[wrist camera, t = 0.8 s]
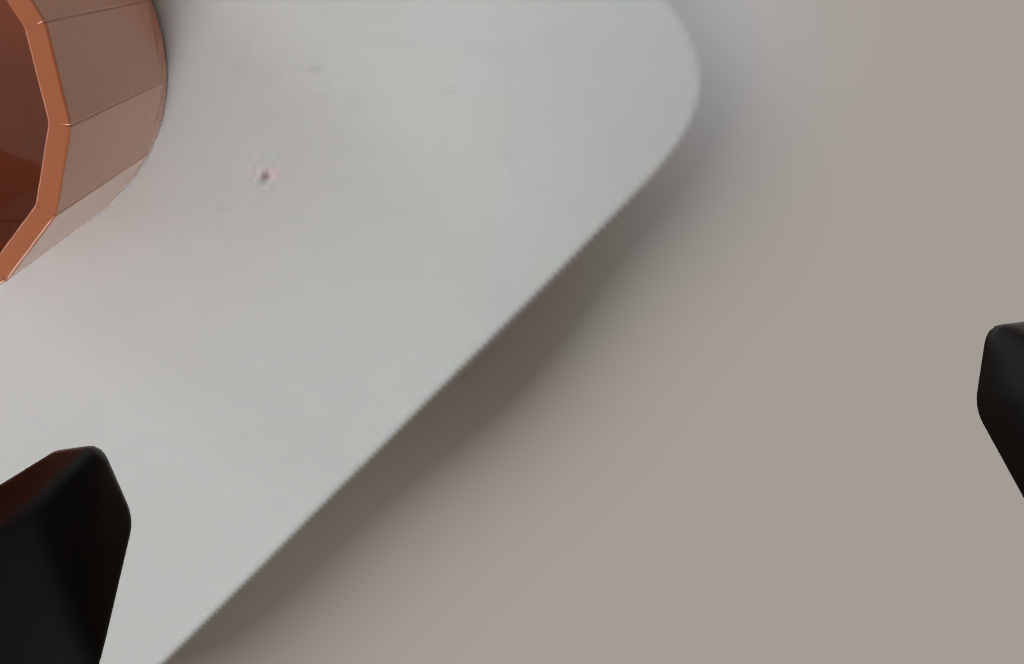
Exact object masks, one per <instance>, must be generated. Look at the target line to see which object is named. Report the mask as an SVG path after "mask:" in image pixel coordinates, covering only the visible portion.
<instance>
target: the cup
mask: <svg viewBox="0 0 1024 664" xmlns="http://www.w3.org/2000/svg"><path fill="white" fill-rule="evenodd" d="M165 97H166V59H165V51H164V43H163V38H162V34H161V30H160V26H159V22H158V18H157V14H156V11H155V9H154V6H153V3H152V1H151V0H0V284H2V283H4V282H6V281H8V280H9V279H10V278H12V277H13V276H14V275H16V274H17V273H18V272H20V271H21V270H22V269H24V268H25V267H26V266H28V265H29V264H31V263H32V262H33V261H35V260H36V259H37V258H39V257H40V256H41V255H43V254H44V253H45V252H47V251H48V250H49V249H51V248H52V247H54V246H55V245H56V244H58V243H59V242H60V241H62V240H63V239H64V238H66V237H67V236H68V235H70V234H71V233H72V232H74V231H75V230H77V229H78V228H79V227H81V226H82V225H83V224H85V223H86V222H87V221H89V220H90V219H91V218H93V217H94V216H95V215H97V214H98V213H100V212H101V211H102V210H104V209H105V208H106V207H107V206H109V205H110V203H111V202H112V201H113V200H114V198H115V197H116V196H117V194H118V193H120V192H121V191H122V190H123V189H124V188H125V186H126V185H127V184H128V183H129V182H130V181H131V180H132V179H133V178H134V177H135V175H136V174H137V172H138V171H139V169H140V168H141V166H142V165H143V163H144V162H145V160H146V159H147V157H148V155H149V153H150V151H151V148H152V146H153V144H154V142H155V140H156V137H157V134H158V131H159V127H160V124H161V120H162V117H163V112H164V105H165Z"/></svg>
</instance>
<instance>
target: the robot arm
mask: <svg viewBox="0 0 1024 664" xmlns="http://www.w3.org/2000/svg"><path fill="white" fill-rule="evenodd" d="M977 407H978V412H979V415H980V418H981V420H982V422H983V424H984V426H985V428H986V429H987V431H988V433H989V435H990V437H991V439H992V441H993V442H994V444H995V446H996V448H997V449H998V452H999V453H1000V455H1001V457H1002V459H1003V461H1004V462H1005V464H1006V466H1007V468H1008V470H1009V472H1010V473H1011V475H1012V477H1013V479H1014V481H1015V483H1016V484H1017V486H1018V488H1019V490H1020V492H1021V493H1022V495H1023V497H1024V322H1019V323H1010V324H1003V325H998V326H995V327H994V328H993V329H992V330H990V331H989V333H988V335H987V337H986V340H985V344H984V351H983V357H982V364H981V371H980V377H979V384H978V391H977ZM130 531H131V515H130V510H129V507H128V504H127V502H126V500H125V497H124V495H123V493H122V491H121V488H120V486H119V484H118V481H117V479H116V477H115V474H114V472H113V470H112V468H111V465H110V463H109V461H108V459H107V457H106V455H105V454H104V453H103V451H102V450H101V449H99V448H97V447H94V446H86V447H78V448H70V449H63V450H58V451H55V452H53V453H51V454H49V455H48V456H46V457H44V458H43V459H41V460H40V461H38V462H36V463H35V464H33V465H31V466H30V467H28V468H27V469H25V470H23V471H22V472H20V473H19V474H17V475H15V476H14V477H12V478H10V479H9V480H7V481H6V482H4V483H2V484H1V485H0V664H99V662H100V658H101V655H102V651H103V647H104V643H105V639H106V635H107V631H108V626H109V622H110V618H111V614H112V609H113V605H114V601H115V596H116V592H117V588H118V584H119V579H120V575H121V571H122V566H123V562H124V558H125V553H126V549H127V545H128V541H129V536H130Z"/></svg>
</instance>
